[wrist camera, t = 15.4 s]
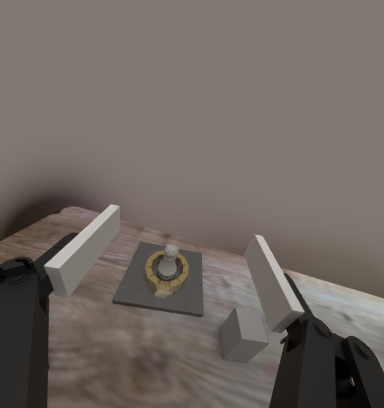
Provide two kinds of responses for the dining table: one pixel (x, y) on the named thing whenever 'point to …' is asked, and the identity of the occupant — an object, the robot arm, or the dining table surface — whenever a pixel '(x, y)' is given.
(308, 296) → the dining table surface
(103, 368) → the dining table surface
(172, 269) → the rook chess piece
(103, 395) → the dining table surface
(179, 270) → the ring plate
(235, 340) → the grey block
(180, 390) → the dining table surface
